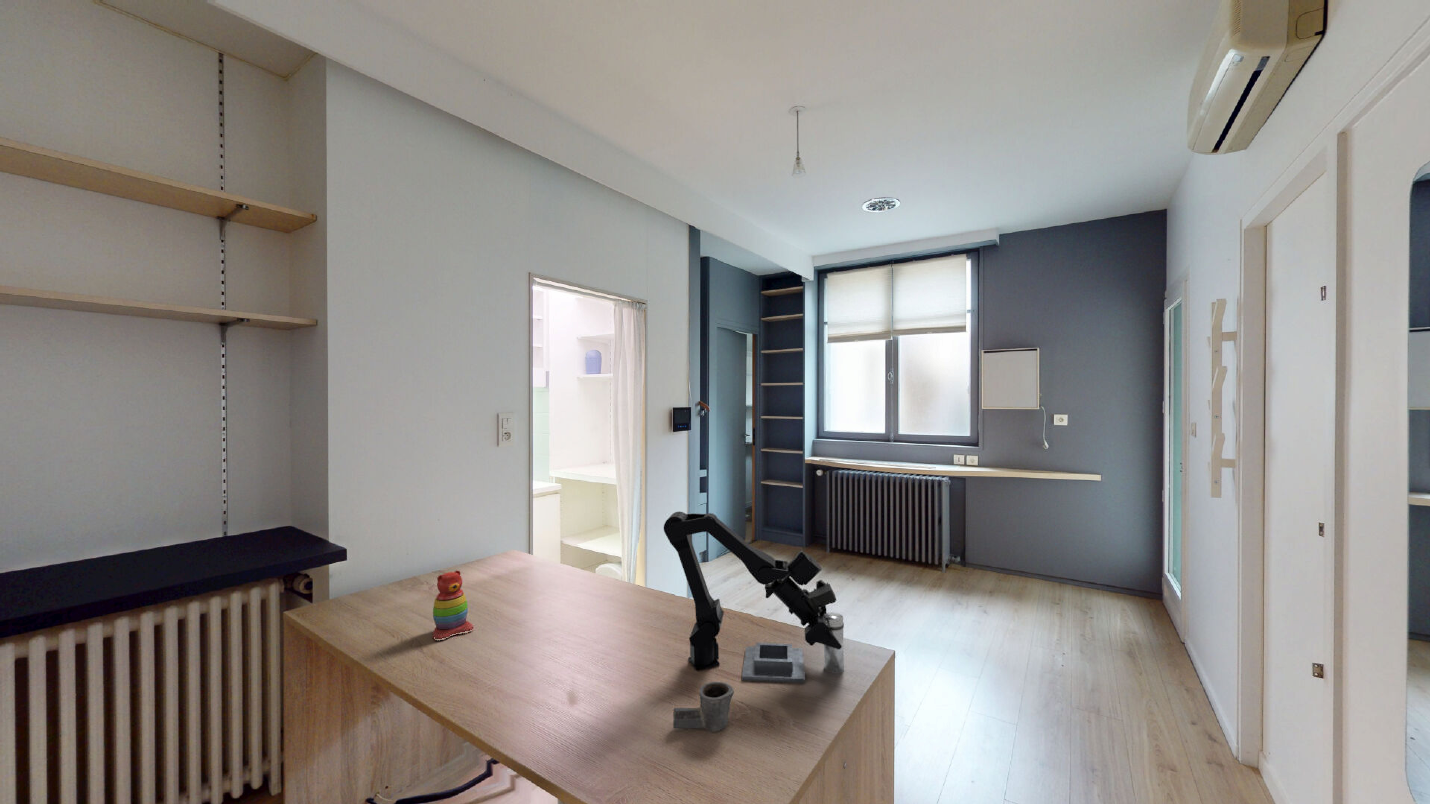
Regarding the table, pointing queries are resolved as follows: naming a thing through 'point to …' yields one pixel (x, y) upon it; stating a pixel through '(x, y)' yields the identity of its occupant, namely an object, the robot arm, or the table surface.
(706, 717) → the pipe
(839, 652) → the silver banded cylinder
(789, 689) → the table surface
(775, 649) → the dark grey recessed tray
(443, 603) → the stacking bear
